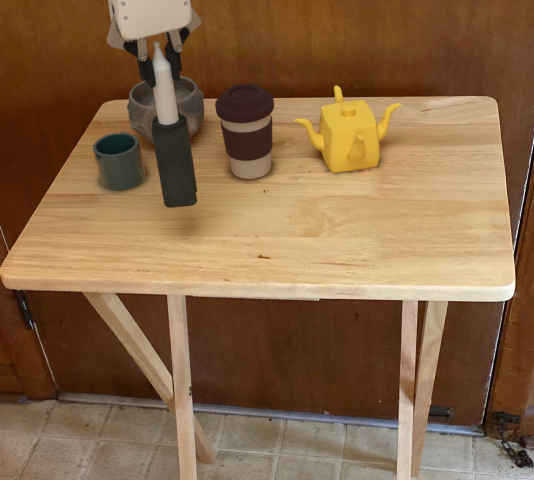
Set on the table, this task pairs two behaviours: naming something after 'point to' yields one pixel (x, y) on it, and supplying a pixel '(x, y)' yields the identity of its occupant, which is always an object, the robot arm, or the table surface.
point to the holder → (119, 161)
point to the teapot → (348, 134)
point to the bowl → (145, 109)
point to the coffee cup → (247, 129)
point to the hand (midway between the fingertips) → (162, 79)
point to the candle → (171, 139)
